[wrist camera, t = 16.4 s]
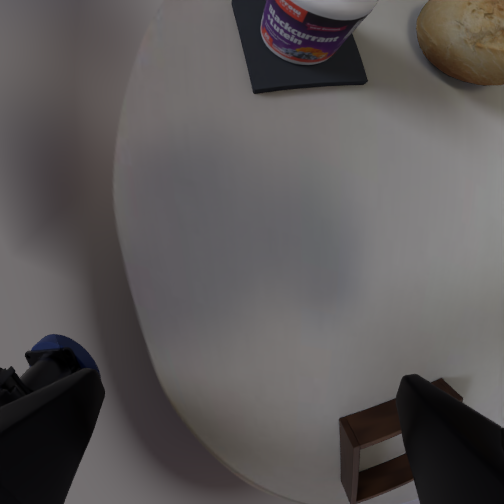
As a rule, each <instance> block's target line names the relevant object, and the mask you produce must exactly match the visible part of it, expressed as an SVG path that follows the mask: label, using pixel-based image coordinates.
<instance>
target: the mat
mask: <svg viewBox="0 0 504 504" xmlns="http://www.w3.org/2000/svg"><path fill="white" fill-rule="evenodd" d="M265 4H266V0H232V7H233V11H234V15H235V18H236V22H237V26H238V30H239V34H240V38H241V42H242V46H243V50H244V55H245V59H246V63H247V67H248V71H249V76H250V80H251V84H252V88H253V93H254V94H256V93H263V92H270V91H278V90H287V89H296V88H307V87H320V86H336V85H364V84H365V83H366V82H368V80H367V76H366V73H365V70H364V67H363V63H362V60H361V57H360V54H359V51H358V48H357V45H356V43H355V40H354V37H353V34H352V33H351V35H350V36H349V37H348V38H347V39H346V40H345V42H344V43H343V44H342V45H341V46H340V47H339V49H338V50H337V51H336V52H335V53H334V54H333V55H332V56H331V57H330V58H329V59H327V60H326V61H324V62H321V63H318V64H313V65H301V64H295V63H291V62H288V61H286V60H284V59H282V58H280V57H278V56H277V55H275V54H274V53H273V52H272V51H271V50H270V49H269V48H268V47H267V46H266V44H265V43H264V41H263V38H262V35H261V20H262V16H263V12H264V8H265Z"/></svg>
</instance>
